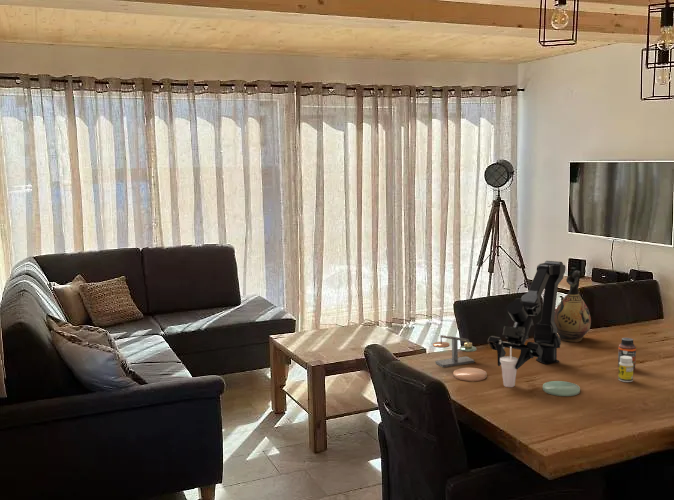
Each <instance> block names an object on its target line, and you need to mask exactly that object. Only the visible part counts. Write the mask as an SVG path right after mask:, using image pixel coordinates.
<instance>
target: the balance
mask: <svg viewBox="0 0 674 500" xmlns="http://www.w3.org/2000/svg"><path fill="white" fill-rule="evenodd" d="M439 337H440V341H435V342H433V343H432V346H433V347H434V348H440V349H441V348H443V349H445V348H448V347H450V345H451V358H446V359H439V360H435V362H434V363H435V364H436V365H438V366H439V367H440V368H441V367H442V368H449V367H455V366H456V367H457V366H462V365H467V364H468V365H469V364H475V361H476V360H475V359H473V358H471V357H469V356H468V355H467V356H459V357H458V355H459V350H460V351H461V352H466V353H469V352H470V353H471V352H475V351H477V347H476V346H473V342H470V339H469V338H463V337H457V336H452V335H451V336H450V335H444V334H440V336H439ZM442 339H448V340H451V344H450V343H449V342H446V341H442ZM458 341H461V342H464V344H463V345H462V346H460V347H458ZM458 348H459V349H458Z"/></svg>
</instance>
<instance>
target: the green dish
mask: <svg viewBox="0 0 674 500" xmlns="http://www.w3.org/2000/svg"><path fill="white" fill-rule="evenodd" d="M542 390H543V391H544V393H546V394H549V395H552V396H558V397H572V396H573V397H575V396H577V395H579V394H580V393H581V387H580V386H579V385H578V384H576V383H574V382H569V381H566V380H565V381H562V380H552V381H546V382H544V383H543V384H542Z"/></svg>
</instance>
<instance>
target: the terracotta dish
mask: <svg viewBox="0 0 674 500" xmlns="http://www.w3.org/2000/svg"><path fill="white" fill-rule="evenodd" d="M487 375H488V374H487V371H486V370H484V369H481V368H476V367H460V368H456V369H455V370H454V371H453V377H454V378H455V379H456V380H460V381H464V382H465V381H466V382H479V381H483V380H485V379H486V378H487Z"/></svg>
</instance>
